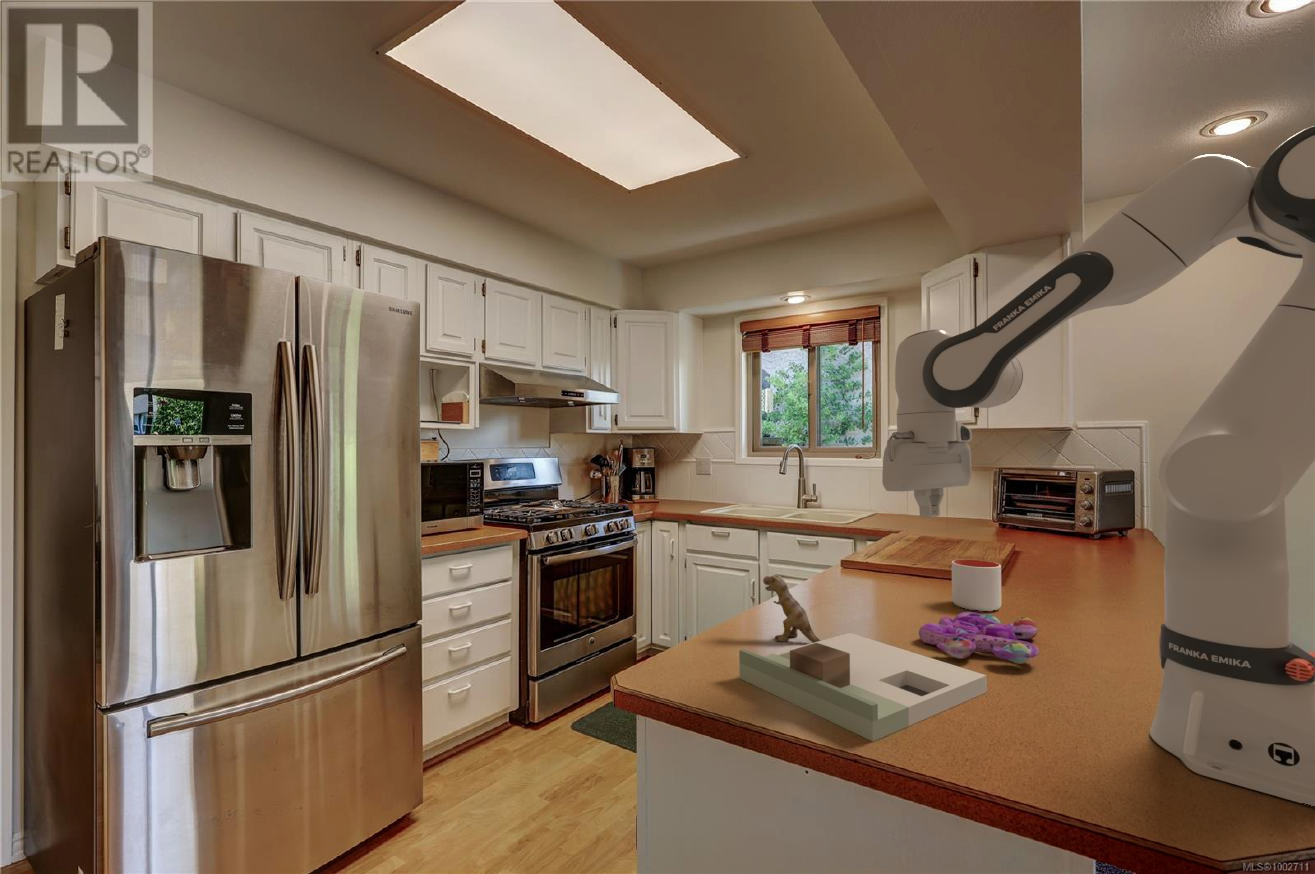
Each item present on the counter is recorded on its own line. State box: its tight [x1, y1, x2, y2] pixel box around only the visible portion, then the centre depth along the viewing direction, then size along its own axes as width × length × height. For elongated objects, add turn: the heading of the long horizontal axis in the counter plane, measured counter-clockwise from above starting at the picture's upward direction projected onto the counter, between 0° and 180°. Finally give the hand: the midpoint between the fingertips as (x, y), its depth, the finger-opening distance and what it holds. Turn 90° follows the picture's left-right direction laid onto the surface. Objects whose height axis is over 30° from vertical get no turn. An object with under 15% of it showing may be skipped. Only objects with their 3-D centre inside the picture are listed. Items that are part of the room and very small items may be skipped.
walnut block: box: [790, 643, 850, 688], centre depth 88 cm, size 6×6×4 cm
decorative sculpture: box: [918, 611, 1040, 665], centre depth 112 cm, size 29×5×20 cm
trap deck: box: [738, 632, 988, 742], centre depth 94 cm, size 25×27×4 cm
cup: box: [951, 558, 1002, 612], centre depth 139 cm, size 10×10×10 cm
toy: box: [762, 574, 822, 643], centre depth 116 cm, size 7×17×10 cm
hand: (929, 516), depth 98 cm, fingers closed
